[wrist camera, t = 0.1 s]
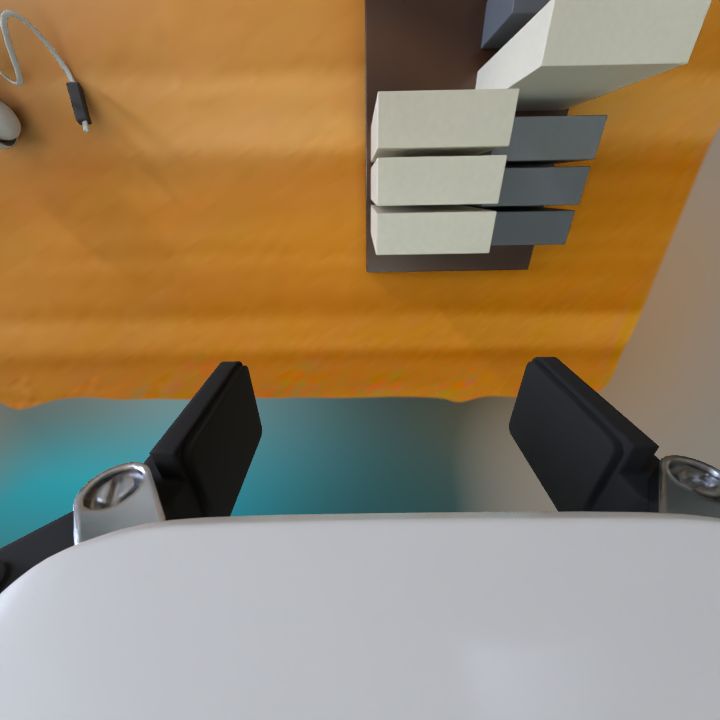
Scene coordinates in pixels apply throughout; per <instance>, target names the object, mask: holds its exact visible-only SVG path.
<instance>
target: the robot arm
mask: <svg viewBox="0 0 720 720" xmlns="http://www.w3.org/2000/svg"><path fill="white" fill-rule="evenodd" d="M509 430H510V433H511V435H512V437H513V438H514V440H515V442H516V443H517V445H518V447H519V448H520V450H521V451H522V453H523V455H524V456H525V458H526V460H527V461H528V463H529V465H530V466H531V468H532V469H533V471H534V473H535V474H536V476H537V478H538V479H539V481H540V482H541V484H542V486H543V487H544V489H545V491H546V492H547V494H548V495H549V497H550V499H551V500H552V502H553V504H554V505H555V507H556V508H557V510H558V512H455V513H454V512H453V513H452V512H450V513H449V512H447V513H368V514H367V513H366V514H312V515H310V514H309V515H258V516H230V515H231V512H232V510H233V507H234V504H235V502H236V499H237V497H238V494H239V492H240V489H241V487H242V484H243V482H244V479H245V477H246V474H247V471H248V469H249V466H250V464H251V461H252V458H253V456H254V454H255V451H256V449H257V446H258V443H259V441H260V438H261V434H262V426H261V422H260V417H259V413H258V409H257V404H256V400H255V396H254V391H253V387H252V383H251V379H250V374H249V370H248V367H247V366H243V365H242V363H241V362H240V361H239V362H221V363H220V364H219V366H218V367H217V368H216V369H215V371H214V372H213V373H212V374H211V376H210V377H209V378H208V379H207V381H206V382H205V383H204V385H203V386H202V387H201V388H200V390H199V391H198V392H197V393H196V395H195V396H194V397H193V398H192V400H191V401H190V402H189V404H188V405H187V406H186V407H185V409H184V410H183V411H182V413H181V414H180V415H179V417H178V418H177V419H176V420H175V421H174V423H173V424H172V425H171V426H170V428H169V429H168V430H167V432H166V433H165V434H164V435H163V437H162V438H161V439H160V440H159V442H158V443H157V444H156V446H155V447H154V448H153V449H152V450H151V452H150V456H149V457H148V458H147V460H146V461H145V462H144V463H139V462H130V463H125V464H121V465H117V466H115V467H112V468H110V469H108V470H106V471H104V472H102V473H100V474H99V475H97V476H96V477H95V478H93V479H91V480H90V481H89V482H88V483H87V484H86V485H85V486H84V487H83V488H82V489H81V490H80V492H79V493H78V495H77V496H76V498H75V501H74V506H73V511H72V512H70V513H68V514H66V515H64V516H62V517H61V518H59V519H57V520H55V521H53V522H51V523H49V524H47V525H45V526H43V527H41V528H39V529H37V530H35V531H34V532H32V533H30V534H28V535H26V536H24V537H22V538H20V539H18V540H17V541H14V542H12V543H10V544H8V545H7V546H5V547H3V548H1V549H0V720H720V470H719V469H717V468H715V467H713V466H711V465H709V464H706V463H704V462H702V461H699V460H696V459H693V458H689V457H685V456H678V455H671V456H666V457H664V458H662V459H661V460H659V459H658V458H657V457H656V456H655V455H654V454H655V452H656V451H657V449H658V447H659V446H658V445H657V444H656V443H654V442H653V441H652V440H651V439H650V438H649V437H648V436H646V435H645V434H644V433H643V432H642V431H641V430H639V429H638V428H637V427H636V426H635V425H634V424H633V423H631V422H630V421H629V420H628V419H627V418H626V417H624V416H623V415H622V414H621V413H620V412H619V411H617V410H616V409H615V408H614V407H613V406H612V405H611V404H609V403H608V402H607V401H606V400H605V399H604V398H602V397H601V396H600V395H599V394H598V393H597V392H596V391H594V390H593V389H592V388H591V387H590V386H589V385H587V384H586V383H585V382H584V381H583V380H582V379H581V378H579V377H578V376H577V375H576V374H575V373H574V372H572V371H571V370H570V369H569V368H568V367H567V366H565V365H564V364H563V363H562V362H561V361H560V360H559V359H557V358H556V357H536V358H534V359H533V360H532V362H529V363H528V364H527V366H526V369H525V372H524V376H523V379H522V382H521V386H520V389H519V392H518V396H517V399H516V403H515V406H514V409H513V412H512V416H511V419H510V423H509Z"/></svg>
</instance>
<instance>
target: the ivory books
mask: <svg viewBox="0 0 720 720" xmlns="http://www.w3.org/2000/svg"><path fill="white" fill-rule="evenodd" d="M519 90H520V89H472V90H423V91H379V92H378V94H377V99H376V104H375V109H374V114H373V119H372V125H371V162H375V163H374V164H373V166H372V167H371V200H372V201H373V202H374V203H375V204H376V205H371V236H372V240H373V244H374V248H375V252H376V255H412V254H470V253H489V250H490V245H491V240H492V234H493V229H494V224H495V218H496V213H497V212H496V211H491V210H485V209H480V208H474V207H469V206H463V205H461V204H498V202H499V197H500V191H501V186H502V180H503V175H504V170H505V164H506V159H507V155H484V156H474V155H478V154H481V153H485V152H489V151H492V150H496V149H500V148H503V147H507V146H509V144H510V138H511V133H512V128H513V122H514V117H515V112H516V106H517V101H518V95H519Z"/></svg>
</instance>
